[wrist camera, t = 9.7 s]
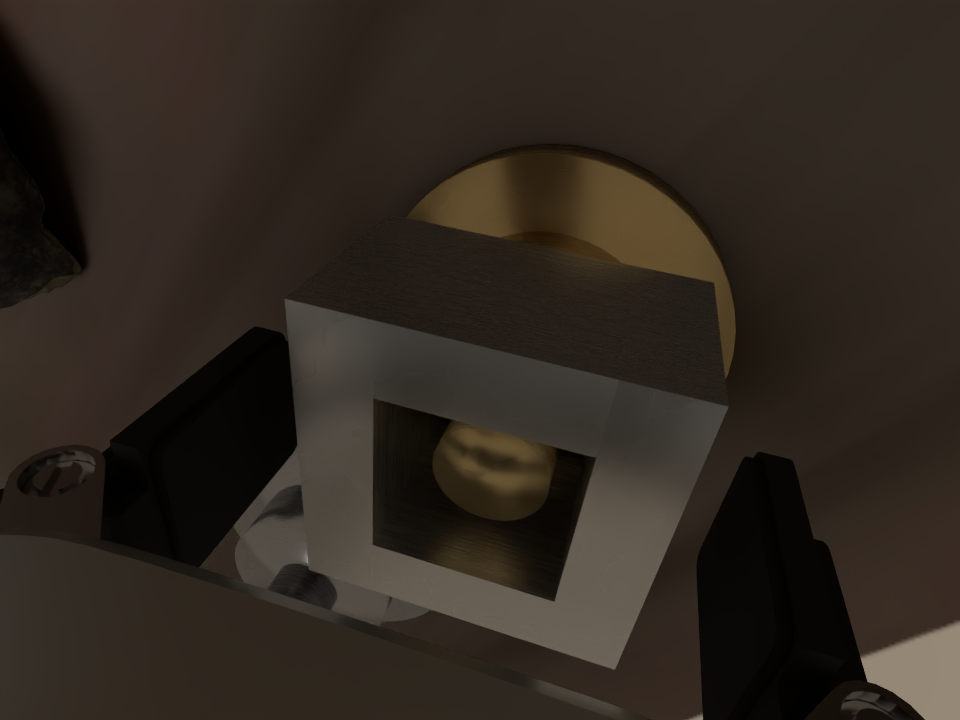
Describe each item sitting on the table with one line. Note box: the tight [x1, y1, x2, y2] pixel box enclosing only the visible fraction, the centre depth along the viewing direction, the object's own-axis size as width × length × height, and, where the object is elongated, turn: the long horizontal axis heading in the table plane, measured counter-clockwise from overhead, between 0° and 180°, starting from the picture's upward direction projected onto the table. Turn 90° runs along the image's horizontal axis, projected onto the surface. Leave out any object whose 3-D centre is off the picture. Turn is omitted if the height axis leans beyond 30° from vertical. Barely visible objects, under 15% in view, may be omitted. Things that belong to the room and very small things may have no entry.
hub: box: [406, 144, 736, 521], centre depth 13 cm, size 9×9×6 cm
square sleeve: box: [285, 215, 729, 670], centre depth 12 cm, size 6×6×4 cm
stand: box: [234, 443, 431, 626], centre depth 20 cm, size 9×9×6 cm
